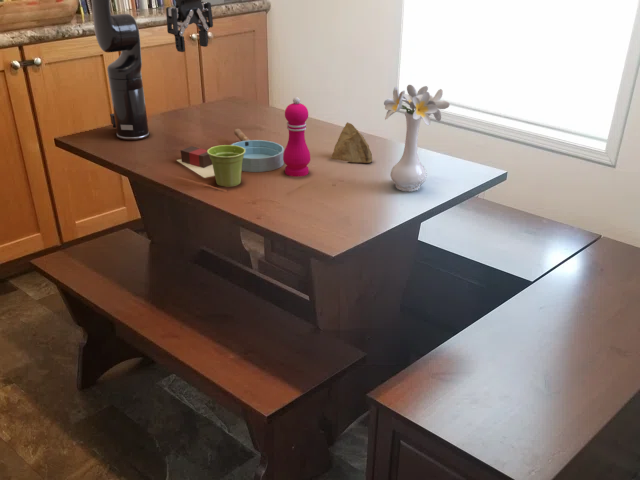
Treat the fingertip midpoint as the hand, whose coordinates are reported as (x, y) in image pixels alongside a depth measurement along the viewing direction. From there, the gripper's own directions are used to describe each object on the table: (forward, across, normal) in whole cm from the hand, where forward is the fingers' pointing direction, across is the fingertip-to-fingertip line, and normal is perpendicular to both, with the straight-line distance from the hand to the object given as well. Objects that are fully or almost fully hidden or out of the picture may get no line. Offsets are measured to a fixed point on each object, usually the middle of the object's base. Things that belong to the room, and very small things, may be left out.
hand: (192, 48), depth 178 cm
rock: (+28, -22, +37) cm, 51 cm away
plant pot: (+28, +12, +20) cm, 37 cm away
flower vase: (+28, -14, +58) cm, 66 cm away
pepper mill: (+28, -4, +30) cm, 42 cm away
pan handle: (+26, -11, +6) cm, 29 cm away
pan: (+28, -4, +17) cm, 33 cm away
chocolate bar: (+28, +6, +5) cm, 29 cm away
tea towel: (+28, +7, +8) cm, 30 cm away
